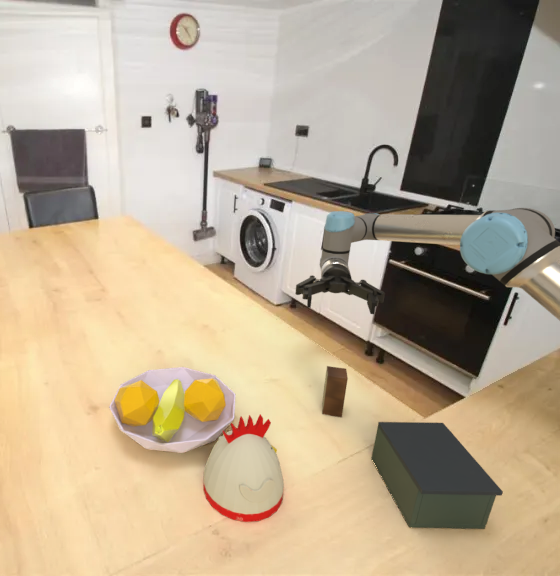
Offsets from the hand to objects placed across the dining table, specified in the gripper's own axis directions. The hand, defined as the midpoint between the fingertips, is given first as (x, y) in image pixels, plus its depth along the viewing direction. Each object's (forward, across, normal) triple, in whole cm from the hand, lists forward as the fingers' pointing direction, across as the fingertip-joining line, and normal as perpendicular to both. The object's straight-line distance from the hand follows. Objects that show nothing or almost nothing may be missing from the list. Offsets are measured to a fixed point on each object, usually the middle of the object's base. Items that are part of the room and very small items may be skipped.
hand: (340, 305), depth 93 cm
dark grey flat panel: (+29, -14, -14) cm, 35 cm away
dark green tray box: (+29, -14, -22) cm, 39 cm away
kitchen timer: (+37, +16, -22) cm, 46 cm away
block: (+10, 0, -22) cm, 24 cm away
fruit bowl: (+25, +33, -22) cm, 47 cm away
